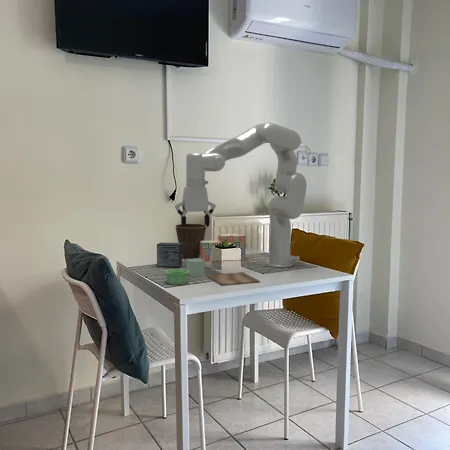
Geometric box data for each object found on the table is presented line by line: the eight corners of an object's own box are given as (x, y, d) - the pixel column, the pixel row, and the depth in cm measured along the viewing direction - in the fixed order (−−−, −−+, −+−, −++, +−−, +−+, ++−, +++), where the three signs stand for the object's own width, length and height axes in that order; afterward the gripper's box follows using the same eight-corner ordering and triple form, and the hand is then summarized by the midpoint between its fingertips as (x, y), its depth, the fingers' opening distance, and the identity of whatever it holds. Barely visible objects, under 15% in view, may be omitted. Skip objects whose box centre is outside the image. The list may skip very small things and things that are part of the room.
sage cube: (199, 272, 193) (199, 258, 192) (204, 275, 187) (204, 260, 187) (186, 273, 191) (186, 259, 190) (190, 276, 185) (190, 261, 184)
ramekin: (183, 278, 181) (183, 268, 180) (192, 283, 173) (192, 272, 172) (162, 281, 177) (162, 270, 176) (170, 286, 169) (170, 274, 168)
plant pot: (206, 260, 217) (206, 227, 215) (174, 260, 216) (174, 227, 214) (205, 254, 231) (206, 223, 229) (176, 254, 231) (176, 223, 229)
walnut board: (242, 273, 191) (242, 272, 191) (259, 282, 176) (259, 280, 176) (206, 276, 185) (207, 275, 185) (221, 285, 170) (221, 284, 170)
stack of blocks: (202, 262, 214) (202, 236, 212) (199, 259, 220) (199, 234, 218) (245, 260, 219) (245, 235, 218) (241, 258, 225) (242, 233, 224)
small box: (182, 265, 206) (182, 242, 205) (180, 268, 200) (180, 244, 198) (160, 264, 207) (159, 241, 206) (156, 267, 201) (156, 244, 199)
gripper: (212, 183, 191) (211, 223, 193) (172, 183, 185) (172, 225, 187) (218, 184, 184) (218, 225, 186) (177, 184, 178) (177, 227, 180)
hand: (195, 225), depth 187 cm, fingers open, 9 cm apart
